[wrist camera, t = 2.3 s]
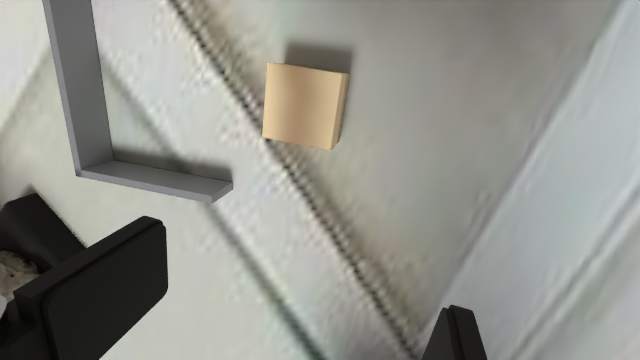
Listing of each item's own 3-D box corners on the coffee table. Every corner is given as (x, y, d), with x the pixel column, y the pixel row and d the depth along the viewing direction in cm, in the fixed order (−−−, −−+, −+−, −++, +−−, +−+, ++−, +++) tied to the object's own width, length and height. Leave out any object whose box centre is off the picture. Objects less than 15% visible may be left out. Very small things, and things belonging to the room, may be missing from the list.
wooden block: (350, 73, 27) (342, 74, 23) (339, 140, 29) (330, 150, 25) (285, 64, 28) (267, 62, 24) (279, 129, 30) (262, 137, 26)
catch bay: (231, -28, 26) (203, -45, 23) (232, 189, 33) (211, 203, 30) (78, -34, 29) (32, -50, 26) (108, 165, 36) (76, 175, 33)
